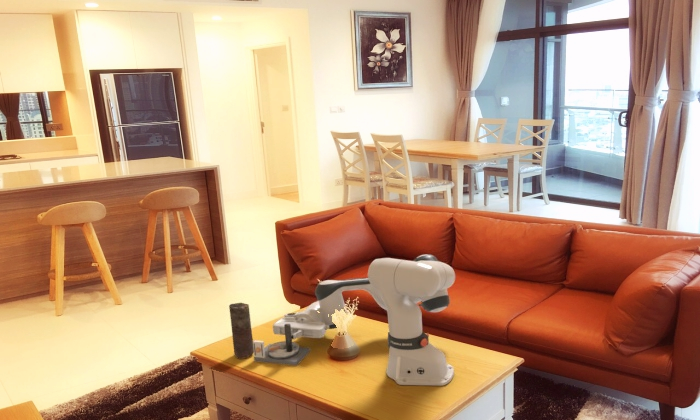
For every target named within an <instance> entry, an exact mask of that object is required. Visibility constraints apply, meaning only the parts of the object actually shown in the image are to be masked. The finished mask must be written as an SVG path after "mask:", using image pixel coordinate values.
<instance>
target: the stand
mask: <svg viewBox="0 0 700 420" xmlns="http://www.w3.org/2000/svg"><path fill="white" fill-rule="evenodd" d="M270 345H271V343H268V344H267V346H265V341H264V340H253V348H254V353H253V361H254V362H259V363H266V364H267V363H268V364H277V365H286V366H288V365H289V366H296V367H297V366H298V365H299V364H300V363H301V362H302V360H304V358H306V357H307V356H308V354H309V353H311V348H310V347H305V346H299V353H298V354H297V355H296V356H294V357H291V358H288V359H272V358H270V357H269V356H268V353H267V348H268V347H269V346H270Z"/></svg>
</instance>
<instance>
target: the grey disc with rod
mask: <svg viewBox="0 0 700 420" xmlns="http://www.w3.org/2000/svg"><path fill="white" fill-rule="evenodd" d="M284 328H285V335H284V337H285V339H284V341H282V340H281V341H278V342H274V343H272V344H271V343H270V344H271V345H270V346H269V347H268V348H267V353H268V356H269V357H270V358H272V359H288V358H291V357H294V356H296V355H297V354H298V353H299V347H300V346H299V344H298V343H297V342H295V341H292V340H293V339H292V337H291V325H290V324H285V325H284Z"/></svg>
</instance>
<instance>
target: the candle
mask: <svg viewBox="0 0 700 420" xmlns="http://www.w3.org/2000/svg"><path fill="white" fill-rule="evenodd" d="M228 308H229V316H230V317H229V318H230V326H231V333H232V334H231V336H232V344H233V353H234V356H235V358H237V359H238V360H239V359H240V360H243V359H247V358H248V357H250V356H252V355H254V348H253V341H254V340H253V339H254V337H253V331H252V324H251V323H252V321H251V314H250V313H251V311H250V305H249V304H247V303H244V302H236V303H231V304H229V305H228Z"/></svg>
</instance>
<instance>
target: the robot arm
mask: <svg viewBox="0 0 700 420" xmlns="http://www.w3.org/2000/svg"><path fill="white" fill-rule="evenodd" d="M455 280H456V273H455V271H454V269H453V267H452V266H450V265H449V264H447V263H445V262H442V261H440V260H439V259H438V258H437V257H436V256H435V255H433V254H421V255H418V256H417V257H415V258H414V259H413V260H406V259H399V258H391V257H382V258H375V259H374V260H373V261H372V262H371V263H370V265H369V266H368V270H367V277H357V278H347V279H327V280H323V281H319V283H318V284H317V285H316V287H315V291H314V295H315V296H316V299H317V300H316V301H314V302H312V303H311V304H310V305H308V306H307V307H306V308H305V309H303V310H302V311H301V310H300V311H298V312H291V313H285V314H284V316H283V317H281V318H279V319H278V320H277V321H275V322H274V323H273V325H272V332H273V334H274V335H278V336H279V335H280V336H285V328H284V325H285V324H290V325H291V337H292V340H296V339H297V338H301V337H303V338H310V339H311V338H312V339H322V338H323V337H324V336H325V334H326V333H327V330H333V329H338V328H337V327H336V325H335V324H334V323H333V322H332V316H331V315H332V314H334V313H335V309H337V310H338V311H340V310H341V309H342V308H344V307H345V306H346V304H345V300H344V297H343V294H342V293H343V292H345V291H346V292H347V291H358V290H363V291H366V292H367V293H369V294H370V296H371V297H372V298H373V299H374V301H375V302H376V303H377V305H379V307H381V308H382V310H383V309H384V310H385V311H386V313H387V320H388V321H387V322H388V332H387V344H388V349H389V353H388V362H387V365H386V366H387V367H386V375H387V377H389V378H390V379H391V380H394V381H395V383H396V384H398V385H399V386H439V387H441V386H445V385H448V384H449V383H450V382H451V381H452V380H453V377H454V375H455V369H454V367H453V365H451V363H450V364H449V363H447V357H446V356H445V353H444V352H443V351H441V349H439V348H437V347H436V346H434V345H433V344H432V343H431V342H429V340H430V339H429V336H430V333H429V332H427V333H426V332H424V331H423V318H422V317H423V316H422V315H423V314H422V310H421V307H422V309H423V310H424V311H426V312H428V313H439V312H441V311H444V310H445V309H446V308H448V307H449V306H450V302H451V301H450V300H451V299H450V295H448V289H449V288H450V287H452V286H453V285H454V283H455ZM420 302H421V303H420ZM339 305H340V307H339ZM317 311H319V312H320V313H318V312H317ZM345 312H346V313H347V314H348V311H347V309H346V310H345ZM328 314H329V317H328Z"/></svg>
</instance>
